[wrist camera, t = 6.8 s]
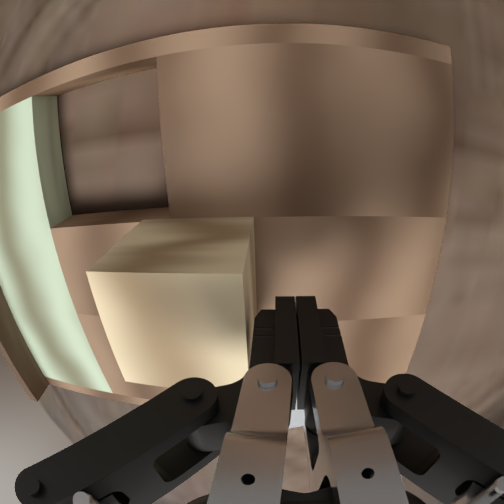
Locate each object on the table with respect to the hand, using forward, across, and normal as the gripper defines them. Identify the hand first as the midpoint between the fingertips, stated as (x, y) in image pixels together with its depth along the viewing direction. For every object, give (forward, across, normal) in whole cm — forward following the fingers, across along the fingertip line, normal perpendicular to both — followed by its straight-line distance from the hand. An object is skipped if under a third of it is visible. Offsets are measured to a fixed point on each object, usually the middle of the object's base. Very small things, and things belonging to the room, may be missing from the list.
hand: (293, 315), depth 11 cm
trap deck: (+6, +7, 0) cm, 9 cm away
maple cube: (+4, +4, 0) cm, 6 cm away
